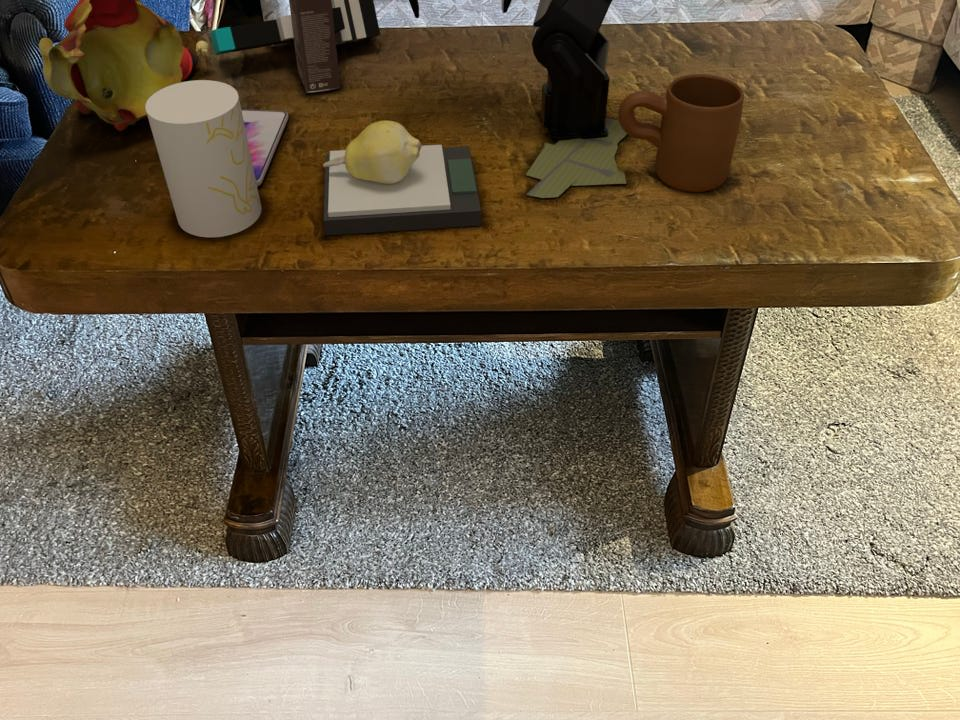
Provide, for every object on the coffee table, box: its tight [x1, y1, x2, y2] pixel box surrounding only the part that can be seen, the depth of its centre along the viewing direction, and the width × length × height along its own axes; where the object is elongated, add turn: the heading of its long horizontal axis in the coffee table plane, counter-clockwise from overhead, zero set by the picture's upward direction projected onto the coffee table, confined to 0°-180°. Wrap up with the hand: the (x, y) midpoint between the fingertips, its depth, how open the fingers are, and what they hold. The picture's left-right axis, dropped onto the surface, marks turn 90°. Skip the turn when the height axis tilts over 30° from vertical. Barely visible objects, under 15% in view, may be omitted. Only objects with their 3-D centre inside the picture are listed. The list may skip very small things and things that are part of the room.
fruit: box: [322, 119, 423, 184], centre depth 86 cm, size 6×6×10 cm
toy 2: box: [209, 0, 381, 56], centre depth 111 cm, size 10×5×20 cm
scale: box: [323, 144, 482, 236], centre depth 89 cm, size 15×12×2 cm
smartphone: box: [241, 108, 289, 187], centre depth 96 cm, size 7×1×15 cm
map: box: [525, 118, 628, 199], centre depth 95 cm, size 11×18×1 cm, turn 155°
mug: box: [617, 73, 745, 193], centre depth 89 cm, size 12×8×9 cm, turn 87°
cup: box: [145, 79, 262, 238], centre depth 84 cm, size 8×8×12 cm
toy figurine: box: [180, 40, 210, 82], centre depth 107 cm, size 8×4×8 cm
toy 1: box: [38, 0, 184, 132], centre depth 96 cm, size 15×15×13 cm
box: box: [288, 0, 341, 94], centre depth 104 cm, size 6×4×12 cm
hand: (460, 14), depth 93 cm, fingers open, 9 cm apart
